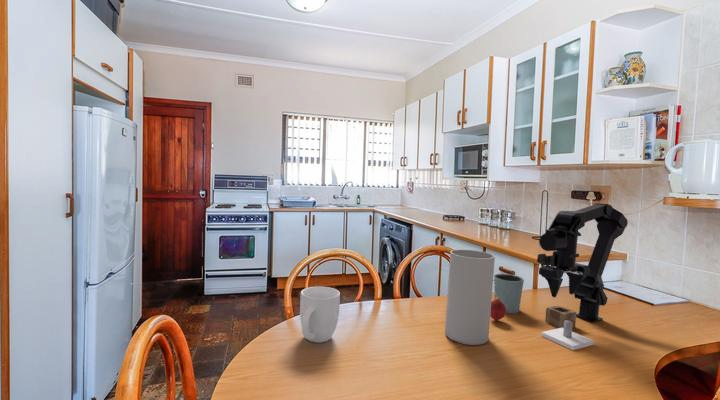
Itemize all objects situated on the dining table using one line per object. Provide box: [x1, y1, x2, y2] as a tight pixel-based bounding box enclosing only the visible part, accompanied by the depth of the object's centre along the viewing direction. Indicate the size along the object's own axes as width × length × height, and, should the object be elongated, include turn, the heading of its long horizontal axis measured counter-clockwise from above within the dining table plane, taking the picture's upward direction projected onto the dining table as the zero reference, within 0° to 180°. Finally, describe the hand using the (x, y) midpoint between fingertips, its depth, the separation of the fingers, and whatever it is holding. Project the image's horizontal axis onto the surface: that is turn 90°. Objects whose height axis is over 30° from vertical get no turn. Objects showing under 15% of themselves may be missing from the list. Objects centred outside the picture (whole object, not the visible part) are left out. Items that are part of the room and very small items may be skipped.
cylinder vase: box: [444, 249, 496, 346], centre depth 108 cm, size 12×12×25 cm
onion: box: [490, 297, 507, 322], centre depth 123 cm, size 6×6×8 cm
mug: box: [299, 286, 341, 343], centre depth 101 cm, size 15×11×13 cm
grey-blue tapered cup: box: [493, 273, 525, 314], centre depth 135 cm, size 10×10×12 cm
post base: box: [540, 320, 595, 351], centre depth 110 cm, size 10×10×6 cm
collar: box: [544, 305, 577, 329], centre depth 123 cm, size 6×6×5 cm
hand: (562, 295), depth 122 cm, fingers open, 9 cm apart
